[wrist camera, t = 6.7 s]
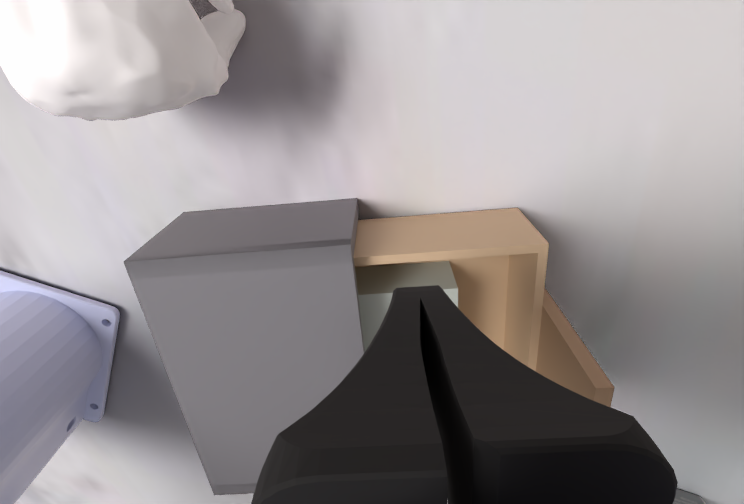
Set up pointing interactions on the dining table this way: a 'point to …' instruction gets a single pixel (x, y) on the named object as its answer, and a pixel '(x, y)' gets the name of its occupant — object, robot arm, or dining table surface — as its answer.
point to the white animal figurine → (116, 54)
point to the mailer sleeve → (251, 322)
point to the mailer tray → (478, 286)
